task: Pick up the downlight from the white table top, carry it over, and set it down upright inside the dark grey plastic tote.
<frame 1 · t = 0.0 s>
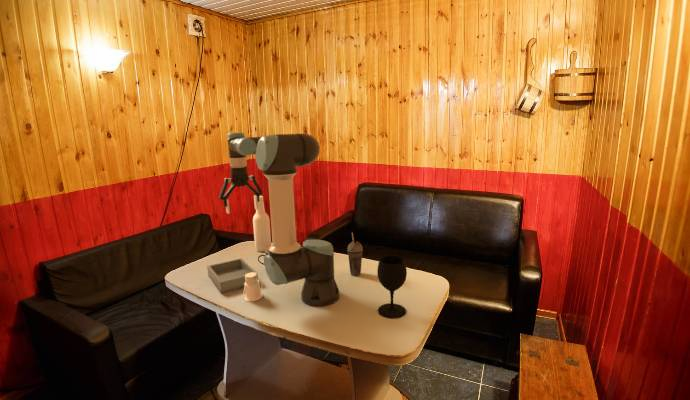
hand: (242, 211, 175), 28 cm above the table, tool pointing down, fingers open, 13 cm apart
downlight: (253, 297, 149), on the table
coffee mug: (273, 270, 175), on the table
tote: (232, 279, 166), on the table
beverage cup: (355, 274, 168), on the table
wine glass: (391, 311, 135), on the table
alcohol: (263, 249, 204), on the table
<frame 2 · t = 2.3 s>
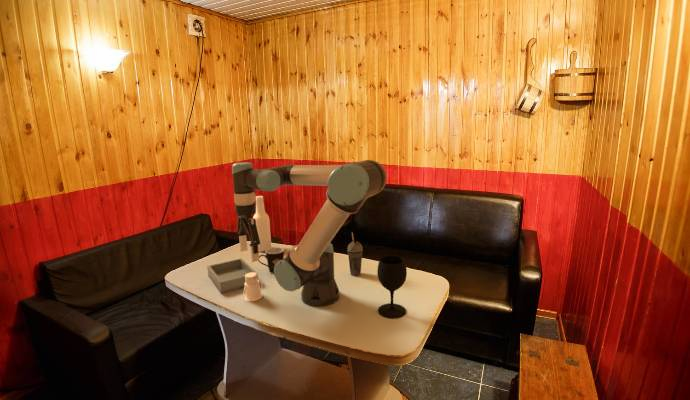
hand: (249, 255, 145), 18 cm above the table, tool pointing down, fingers open, 13 cm apart
nothing on the table moved.
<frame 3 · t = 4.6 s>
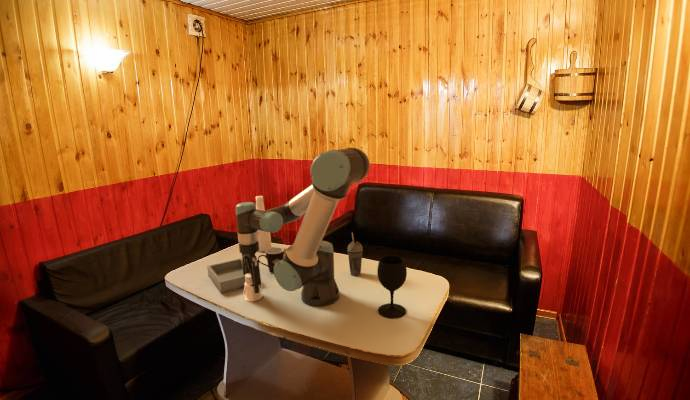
hand: (253, 295, 149), 1 cm above the table, tool pointing down, fingers closed on downlight, 7 cm apart
downlight: (253, 297, 149), on the table, touching gripper
everything else where it was.
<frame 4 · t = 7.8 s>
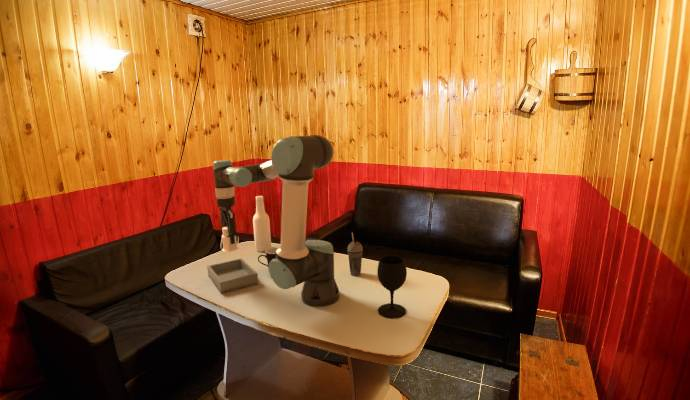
hand: (230, 247, 161), 16 cm above the table, tool pointing down, fingers closed on downlight, 7 cm apart
downlight: (230, 249, 162), point 15 cm above the table, touching gripper
everything else where it was.
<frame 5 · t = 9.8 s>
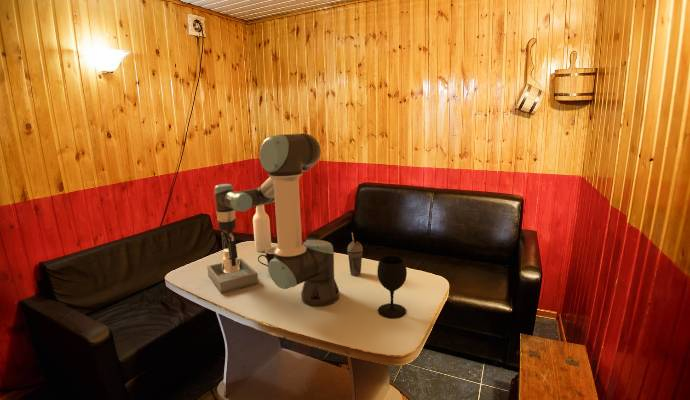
hand: (231, 269, 165), 5 cm above the table, tool pointing down, fingers closed on downlight, 7 cm apart
downlight: (231, 270, 165), point 4 cm above the table, touching gripper
everything else where it was.
when the fingers open (3 cm above the table, at t = 11.0 s): downlight drops 2 cm, resting on tote.
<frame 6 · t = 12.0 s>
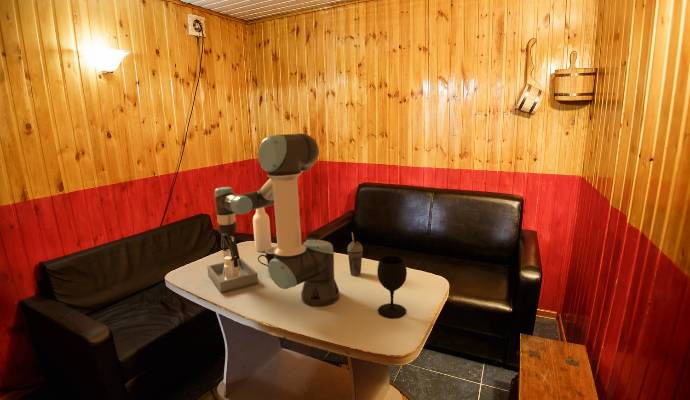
hand: (231, 268, 165), 5 cm above the table, tool pointing down, fingers open, 13 cm apart
downlight: (232, 278, 166), point 1 cm above the table, touching tote
everything else where it was.
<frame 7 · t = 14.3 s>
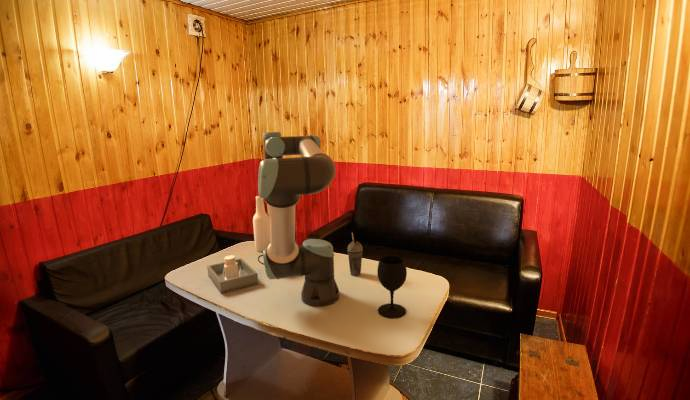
hand: (277, 216, 162), 28 cm above the table, tool pointing down, fingers open, 13 cm apart
nothing on the table moved.
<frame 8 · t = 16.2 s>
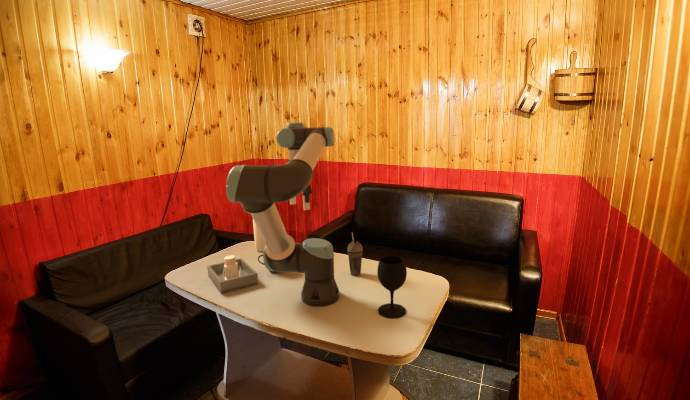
hand: (299, 207, 164), 32 cm above the table, tool pointing down, fingers open, 13 cm apart
nothing on the table moved.
at the end: downlight inside the target area on the tote (0.1 cm from its centre), point 0.8 cm above the tote's base; downlight tilted 0°; the gripper is holding nothing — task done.
